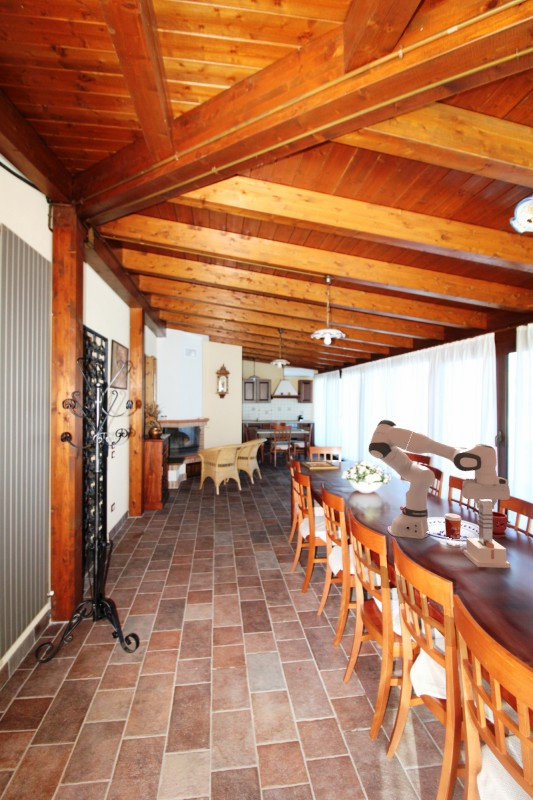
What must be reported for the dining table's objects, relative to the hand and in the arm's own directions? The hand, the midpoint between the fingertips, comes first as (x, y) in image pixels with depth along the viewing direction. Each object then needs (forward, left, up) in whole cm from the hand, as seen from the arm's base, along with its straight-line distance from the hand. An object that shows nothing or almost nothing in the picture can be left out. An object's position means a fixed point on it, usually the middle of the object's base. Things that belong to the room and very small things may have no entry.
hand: (485, 508), depth 171 cm
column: (0, 0, -19) cm, 19 cm away
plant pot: (+21, +34, -25) cm, 47 cm away
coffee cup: (-7, +19, -25) cm, 32 cm away
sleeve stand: (0, 0, -25) cm, 25 cm away
